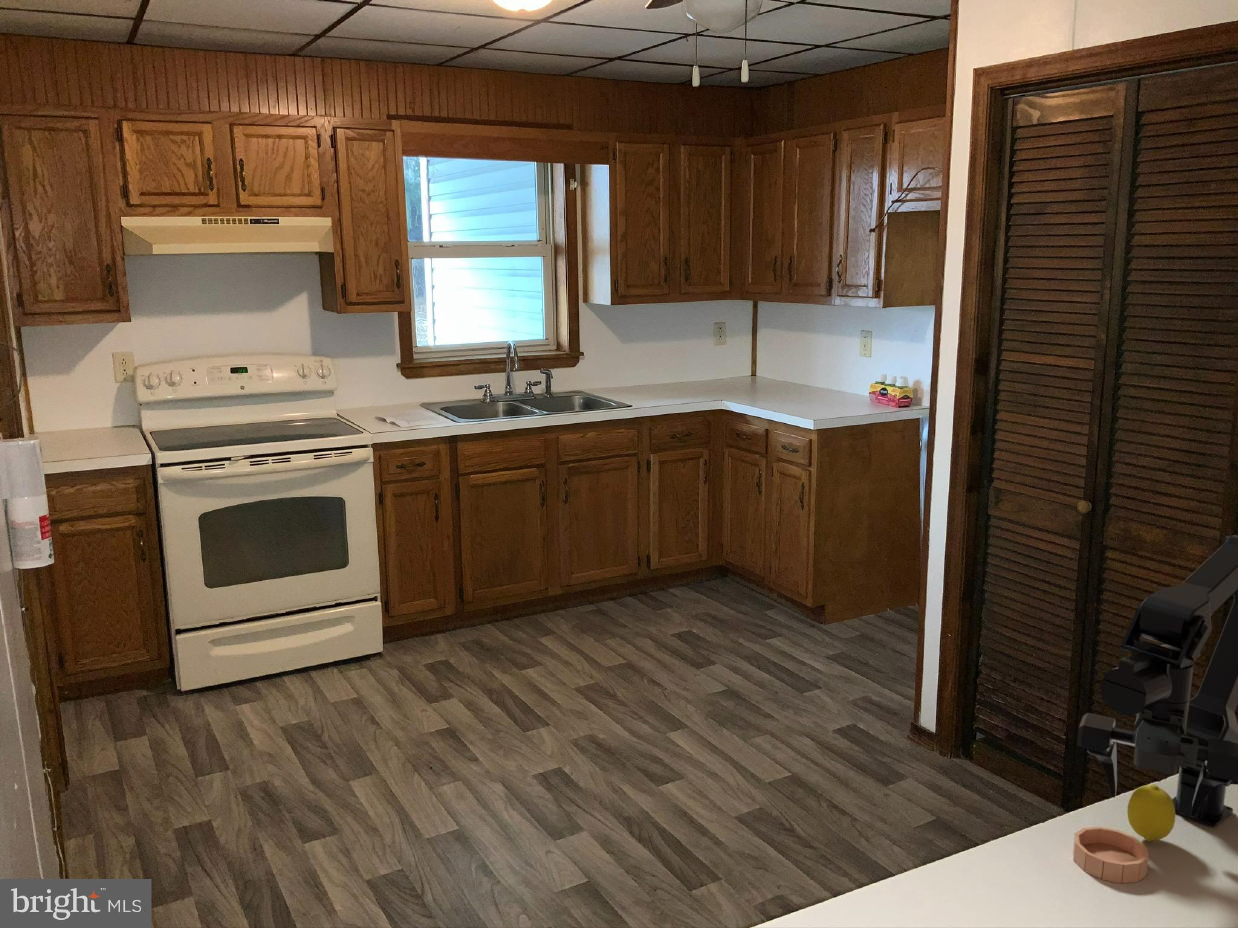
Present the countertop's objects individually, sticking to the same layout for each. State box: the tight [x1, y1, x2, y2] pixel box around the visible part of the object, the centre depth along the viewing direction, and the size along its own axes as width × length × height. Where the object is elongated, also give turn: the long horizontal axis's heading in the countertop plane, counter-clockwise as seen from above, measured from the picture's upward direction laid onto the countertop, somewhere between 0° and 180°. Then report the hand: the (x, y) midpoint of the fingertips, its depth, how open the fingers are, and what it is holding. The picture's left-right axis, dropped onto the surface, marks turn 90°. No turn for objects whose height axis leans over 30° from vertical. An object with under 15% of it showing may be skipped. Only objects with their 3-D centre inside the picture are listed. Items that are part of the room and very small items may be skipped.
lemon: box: [1126, 783, 1176, 842], centre depth 131 cm, size 6×6×8 cm
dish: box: [1072, 826, 1149, 884], centre depth 127 cm, size 8×8×2 cm
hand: (1152, 805), depth 131 cm, fingers open, 9 cm apart
